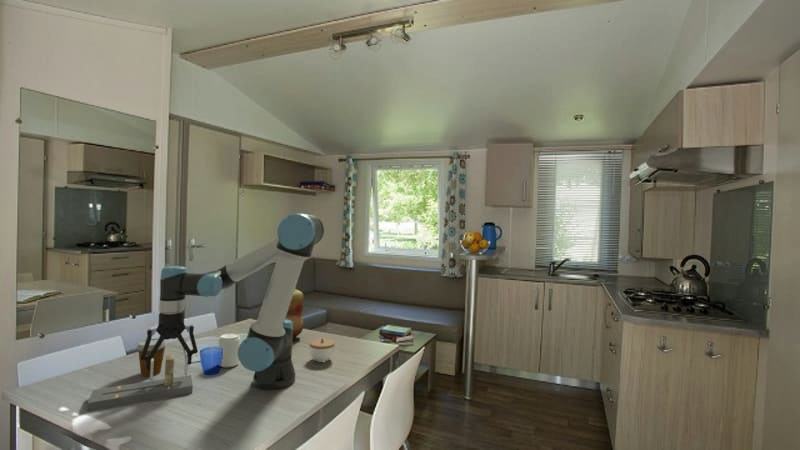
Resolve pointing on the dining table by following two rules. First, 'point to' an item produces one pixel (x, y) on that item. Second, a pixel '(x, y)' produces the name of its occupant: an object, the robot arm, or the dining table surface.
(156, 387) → the fader console
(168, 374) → the beige tall block
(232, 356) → the white lidded canister
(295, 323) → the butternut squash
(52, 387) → the dining table surface
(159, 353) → the disposable coffee cup
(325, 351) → the lidded jar
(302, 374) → the dining table surface
